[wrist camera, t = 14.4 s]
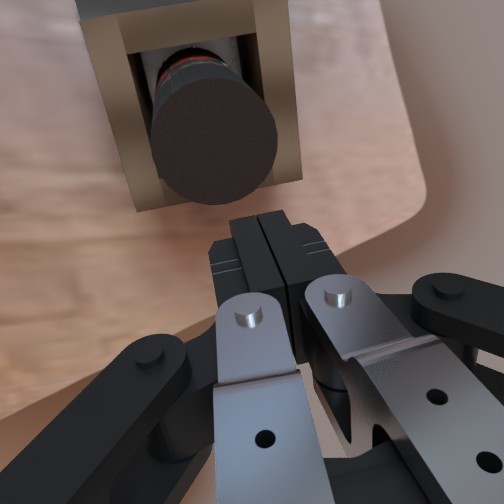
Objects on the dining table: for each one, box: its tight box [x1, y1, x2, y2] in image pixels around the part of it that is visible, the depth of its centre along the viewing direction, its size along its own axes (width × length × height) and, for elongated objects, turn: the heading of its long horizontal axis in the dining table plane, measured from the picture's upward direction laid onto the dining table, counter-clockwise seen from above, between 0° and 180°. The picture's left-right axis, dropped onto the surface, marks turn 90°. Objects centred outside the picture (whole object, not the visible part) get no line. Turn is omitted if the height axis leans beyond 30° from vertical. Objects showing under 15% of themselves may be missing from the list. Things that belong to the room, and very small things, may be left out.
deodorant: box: [150, 47, 278, 205], centre depth 27 cm, size 6×6×15 cm
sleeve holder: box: [75, 0, 303, 212], centre depth 31 cm, size 14×14×9 cm
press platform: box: [140, 36, 242, 107], centre depth 34 cm, size 7×7×1 cm
